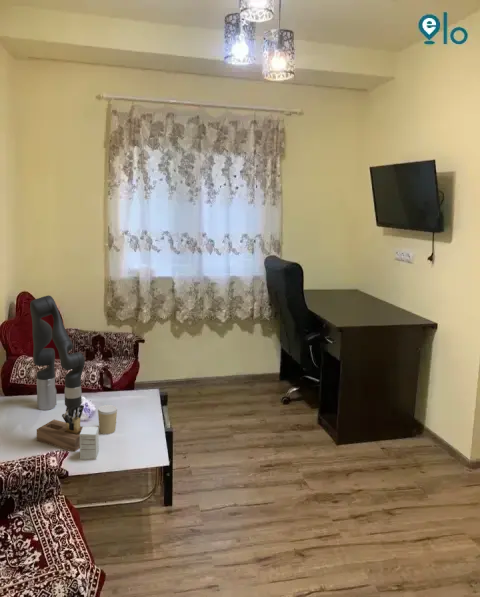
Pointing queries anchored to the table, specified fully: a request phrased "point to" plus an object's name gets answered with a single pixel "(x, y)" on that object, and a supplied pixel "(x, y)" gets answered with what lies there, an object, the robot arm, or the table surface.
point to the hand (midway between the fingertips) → (73, 428)
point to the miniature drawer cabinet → (89, 443)
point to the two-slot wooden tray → (58, 435)
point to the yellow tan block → (76, 426)
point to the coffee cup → (107, 419)
